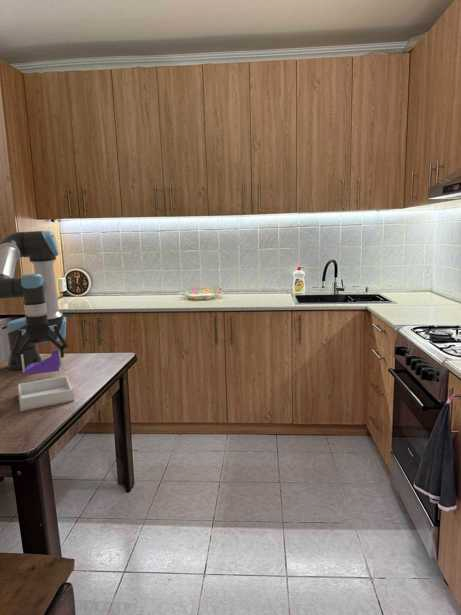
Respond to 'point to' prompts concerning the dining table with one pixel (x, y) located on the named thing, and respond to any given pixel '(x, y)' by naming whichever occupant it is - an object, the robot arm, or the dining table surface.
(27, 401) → the bin
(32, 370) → the bracket
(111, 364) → the dining table surface
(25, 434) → the dining table surface
